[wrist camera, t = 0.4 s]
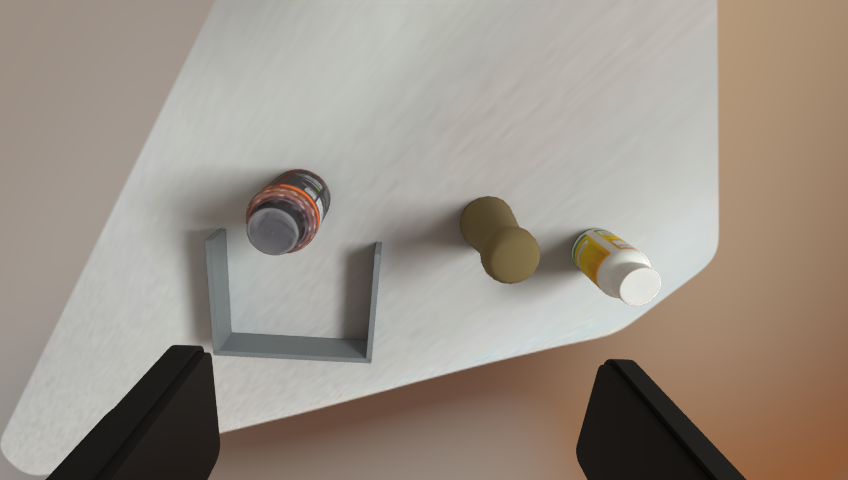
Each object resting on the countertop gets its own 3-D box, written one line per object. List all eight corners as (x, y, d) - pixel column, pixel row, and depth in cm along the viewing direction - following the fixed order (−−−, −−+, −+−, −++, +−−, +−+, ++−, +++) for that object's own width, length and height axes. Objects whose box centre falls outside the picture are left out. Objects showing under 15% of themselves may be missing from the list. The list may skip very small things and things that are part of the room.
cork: (459, 249, 44) (479, 295, 34) (460, 197, 42) (481, 230, 32) (511, 246, 45) (546, 292, 34) (515, 195, 43) (554, 227, 32)
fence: (219, 228, 41) (204, 240, 38) (381, 242, 43) (380, 254, 40) (226, 336, 46) (213, 355, 43) (372, 344, 48) (371, 363, 45)
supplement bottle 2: (608, 219, 44) (662, 251, 35) (620, 258, 46) (674, 298, 37) (564, 239, 45) (606, 275, 36) (577, 277, 47) (620, 320, 38)
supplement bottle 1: (268, 213, 41) (224, 254, 31) (280, 160, 39) (239, 184, 29) (323, 230, 42) (300, 275, 32) (338, 178, 41) (318, 208, 30)
